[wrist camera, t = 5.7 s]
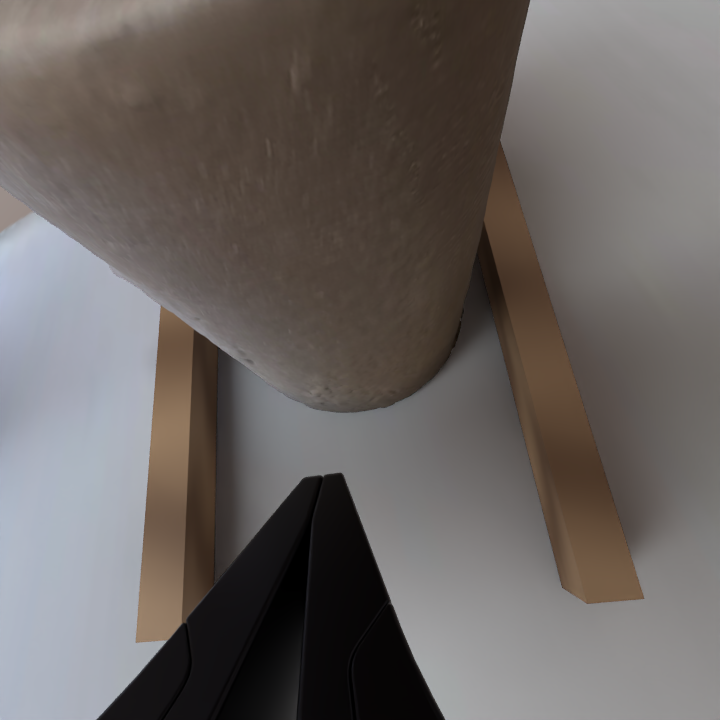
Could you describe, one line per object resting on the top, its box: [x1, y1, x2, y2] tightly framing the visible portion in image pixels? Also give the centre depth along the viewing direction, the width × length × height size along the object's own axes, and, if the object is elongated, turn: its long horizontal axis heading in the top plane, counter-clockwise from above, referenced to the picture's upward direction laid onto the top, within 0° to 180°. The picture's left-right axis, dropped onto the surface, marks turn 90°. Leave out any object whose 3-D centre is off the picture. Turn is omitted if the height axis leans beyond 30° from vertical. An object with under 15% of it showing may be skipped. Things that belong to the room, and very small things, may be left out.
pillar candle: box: [0, 0, 530, 413], centre depth 10 cm, size 10×10×15 cm
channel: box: [136, 142, 644, 643], centre depth 15 cm, size 19×15×4 cm
